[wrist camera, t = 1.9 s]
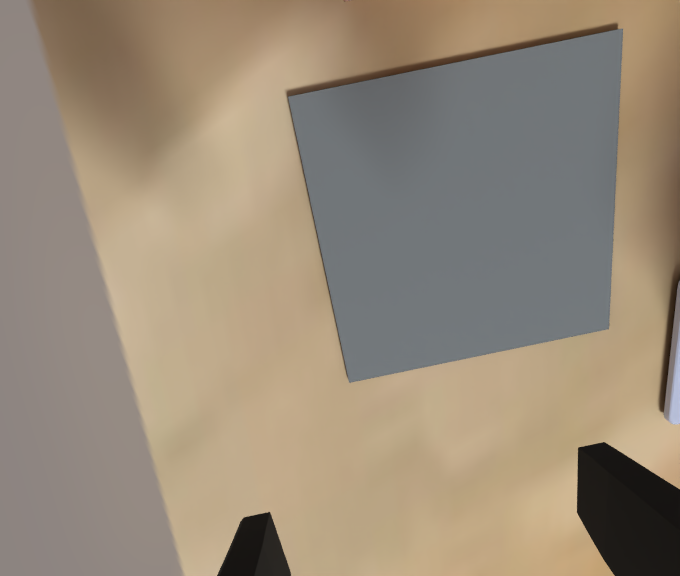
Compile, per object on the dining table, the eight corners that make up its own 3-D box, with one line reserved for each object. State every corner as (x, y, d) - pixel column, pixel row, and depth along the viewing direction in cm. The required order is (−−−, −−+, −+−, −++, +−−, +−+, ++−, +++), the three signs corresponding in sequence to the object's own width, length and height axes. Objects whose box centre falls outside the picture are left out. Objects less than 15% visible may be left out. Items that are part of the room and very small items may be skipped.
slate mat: (619, 29, 15) (623, 28, 15) (605, 327, 19) (608, 329, 19) (288, 96, 15) (287, 96, 15) (348, 380, 19) (349, 382, 19)
